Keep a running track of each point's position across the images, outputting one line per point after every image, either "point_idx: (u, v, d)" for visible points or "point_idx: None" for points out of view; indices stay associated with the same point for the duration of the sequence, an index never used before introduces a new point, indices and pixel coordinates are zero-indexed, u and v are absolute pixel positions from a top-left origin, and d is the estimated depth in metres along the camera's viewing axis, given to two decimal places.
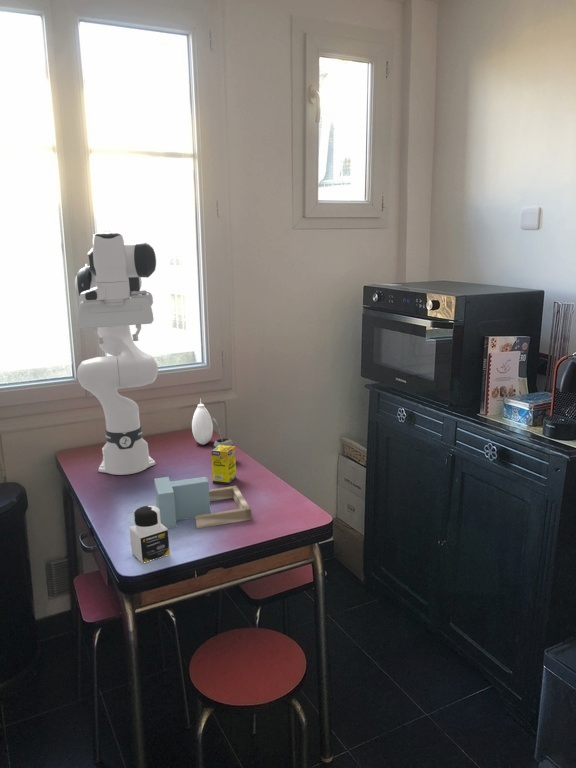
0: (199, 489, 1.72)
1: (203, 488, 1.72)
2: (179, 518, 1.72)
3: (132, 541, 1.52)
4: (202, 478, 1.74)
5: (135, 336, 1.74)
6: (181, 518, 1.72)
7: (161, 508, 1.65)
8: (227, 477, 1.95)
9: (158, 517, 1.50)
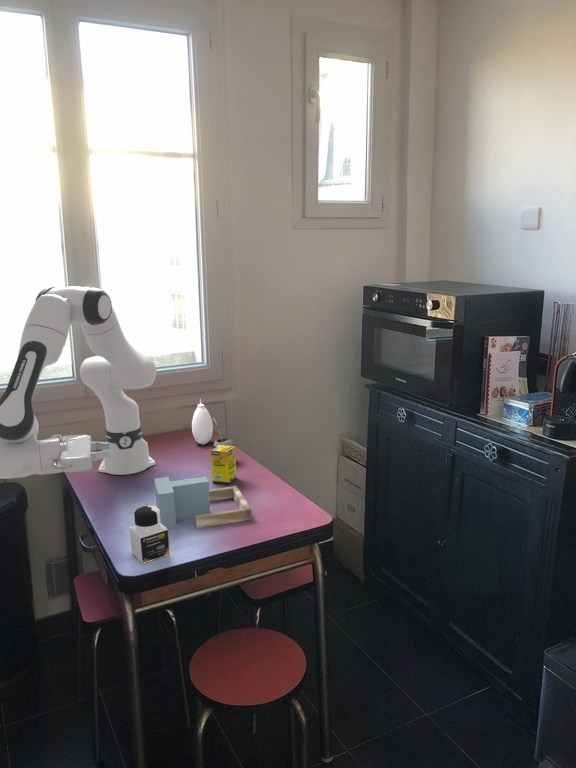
0: (199, 489, 1.72)
1: (203, 488, 1.72)
2: (179, 518, 1.72)
3: (132, 541, 1.52)
4: (202, 478, 1.74)
5: None
6: (181, 518, 1.72)
7: (161, 508, 1.65)
8: (227, 477, 1.95)
9: (158, 517, 1.50)
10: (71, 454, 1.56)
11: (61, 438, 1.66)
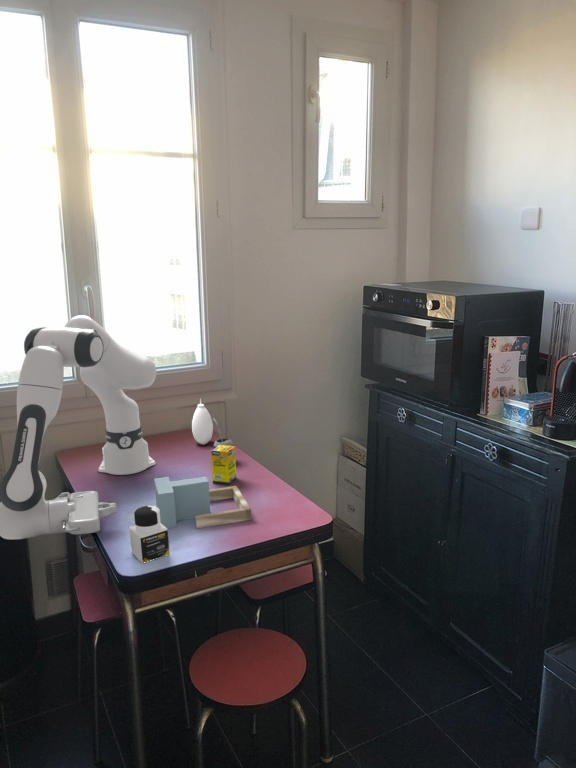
0: (199, 489, 1.72)
1: (203, 488, 1.72)
2: (179, 518, 1.72)
3: (132, 541, 1.52)
4: (202, 478, 1.74)
5: None
6: (181, 518, 1.72)
7: (161, 508, 1.65)
8: (227, 477, 1.95)
9: (158, 517, 1.50)
10: (79, 516, 1.60)
11: (69, 496, 1.70)
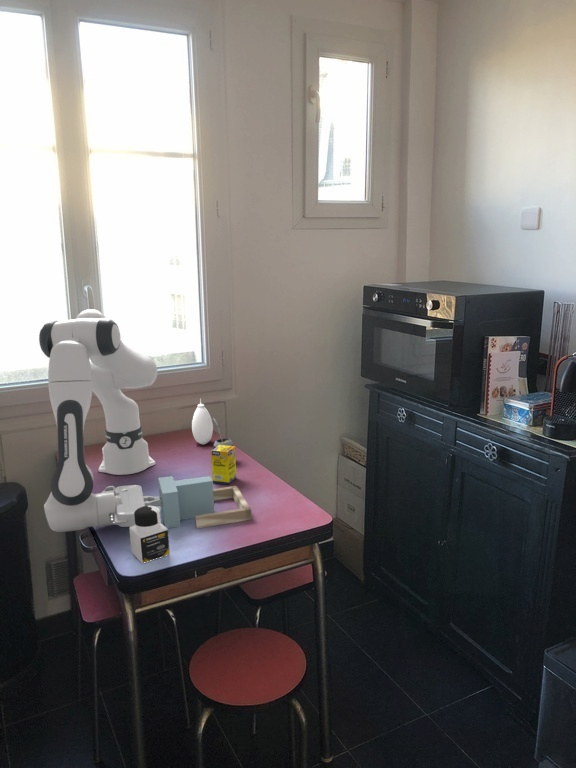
0: (203, 488, 1.72)
1: (207, 488, 1.72)
2: (183, 517, 1.72)
3: (132, 541, 1.52)
4: (206, 477, 1.75)
5: None
6: (185, 517, 1.72)
7: (165, 507, 1.66)
8: (227, 477, 1.95)
9: (158, 517, 1.50)
10: (126, 509, 1.63)
11: (114, 490, 1.73)
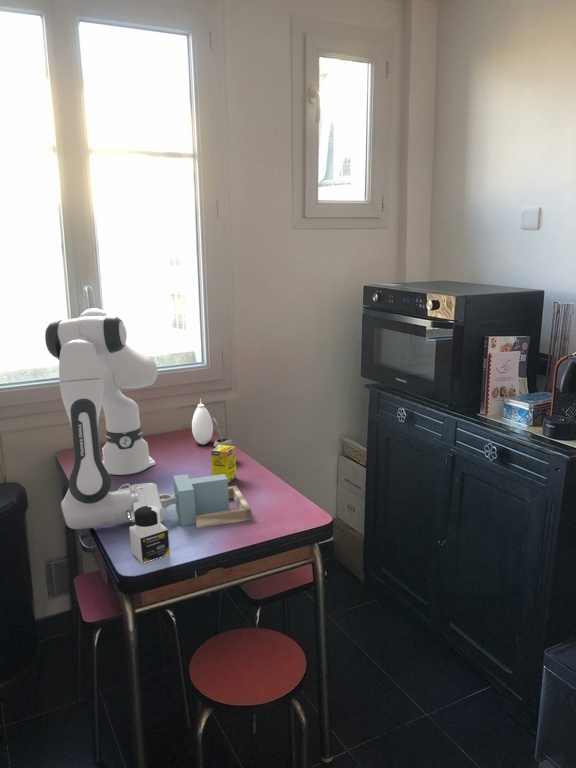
0: (218, 486, 1.73)
1: (222, 486, 1.73)
2: None
3: (132, 541, 1.52)
4: (221, 475, 1.76)
5: None
6: None
7: (181, 505, 1.67)
8: (227, 477, 1.95)
9: (158, 517, 1.50)
10: None
11: (130, 487, 1.74)
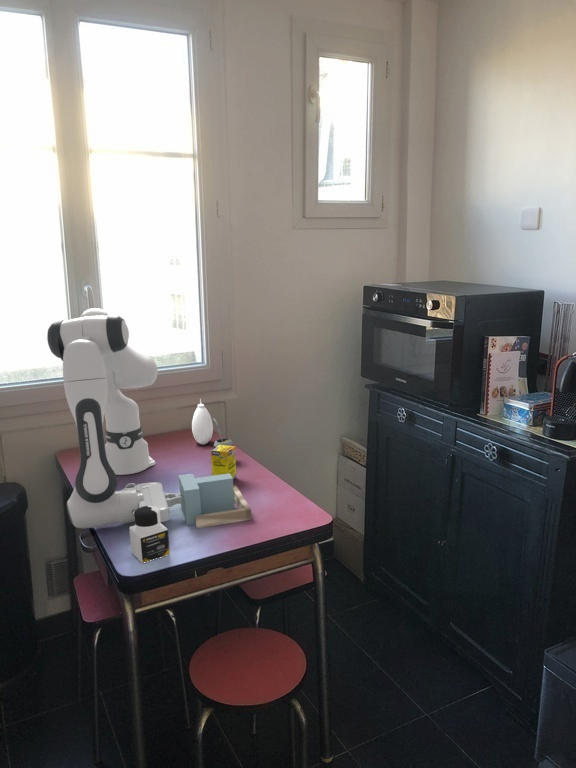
0: (224, 485, 1.73)
1: (227, 485, 1.74)
2: None
3: (132, 541, 1.52)
4: (226, 475, 1.76)
5: None
6: None
7: (187, 504, 1.67)
8: None
9: (158, 517, 1.50)
10: (149, 505, 1.64)
11: (135, 487, 1.75)
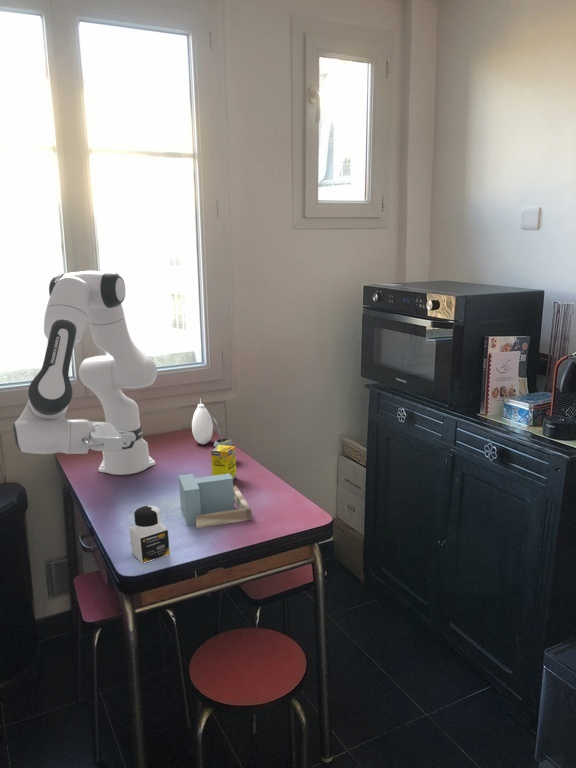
0: (223, 485, 1.73)
1: (227, 485, 1.74)
2: None
3: (132, 541, 1.52)
4: (226, 475, 1.76)
5: None
6: None
7: (187, 504, 1.67)
8: None
9: (158, 517, 1.50)
10: (101, 435, 1.59)
11: None
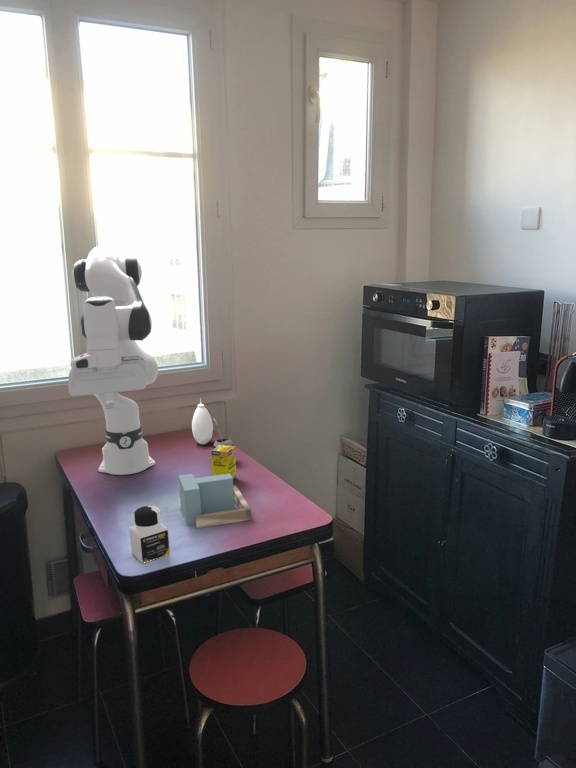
0: (223, 485, 1.73)
1: (227, 485, 1.74)
2: None
3: (132, 541, 1.52)
4: (226, 475, 1.76)
5: (112, 403, 1.69)
6: None
7: (187, 504, 1.67)
8: None
9: (158, 517, 1.50)
10: None
11: None
